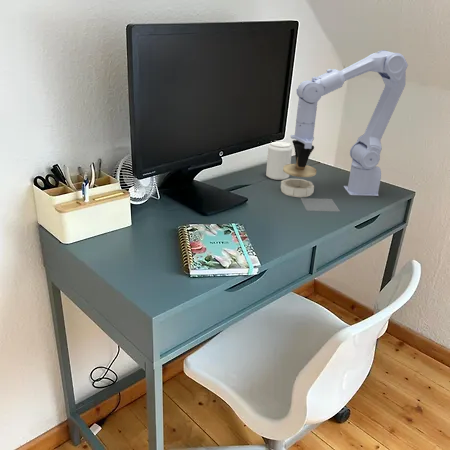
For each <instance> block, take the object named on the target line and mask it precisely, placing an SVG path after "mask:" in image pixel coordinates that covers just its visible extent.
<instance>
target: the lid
mask: <svg viewBox="0 0 450 450" xmlns="http://www.w3.org/2000/svg"><path fill="white" fill-rule="evenodd" d="M283 171H284V172H285V173H286V174H289V176H292V177H297V178H311V177H314V176H316V175H317V168H316V167H314V166H311V165H308V164H306V166H305V167H299V166H298V157H297V161H296V160H295V163H291V164H287V165H285V166H284V167H283Z"/></svg>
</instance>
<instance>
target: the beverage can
mask: <svg viewBox="0 0 450 450" xmlns="http://www.w3.org/2000/svg"><path fill="white" fill-rule="evenodd" d="M275 141H276V142H272V141H271V142H272V143H269V145H268V147H267V160H266V173H265V175H266V177H267V178H269V179H271V180H275V181H283V180H286V179H289V178H290V175H289V174H286V173H285V172H284V171H283V167H284V166H285V165H287V164H292V154H293V147H292V143H291V142H289V141H284V140H275Z"/></svg>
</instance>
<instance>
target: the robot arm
mask: <svg viewBox="0 0 450 450" xmlns="http://www.w3.org/2000/svg"><path fill="white" fill-rule="evenodd" d="M408 66H409V64H408V62H407V59H406V58H405V56H404V55H403V54H402V53H400V52H392V51H388V50H385V49H382V50H378V51H376V52H374V53H371V54H369V55H368V56H366V57H364V58H362V59H360V60H358V61H357V62H354V63H352V64H351V65H348V66H347V67H345V68H343V69H341V70H339V69H336V68H333V69H332V68H328V69H327V70H326V72H324V73H322V74H320V75H318V76H315V75H314V76H312V77H311V80H309V79H307V80H303V81H302V82H300V84H299V85H298V87H297V88H296V95H297V97H298V104H297V110H296V120H295V121H296V122H295V131H294V134H291V135H290V138H291V139H293V140H292V143H293V144H292V145H293V147H294V148H293V149H294V155H295V157H294V158H295V162H296V161H297V157H298V166H299V167H305V166H306V165H308V164H307V163H308V159H309V158H310V156H311V154H312V152H313V151H314V150H315V146H314V145H313V141H314V139H315V137H314V136H315V127H316V118H317V109H318V102H319V101H320V100H321V98H322V97H324V96H325V95H328V94H330V93H331V92H334V91H336V90H338V89H340V88H342V87H343V86H344V84H345V81H349V80H351V79H354V78H355V77H358V76H361V75H363V74H366V73H368V72H375V73H378V75H380V77H381V79H382V81H383V84H384V87H383V90H382V92H381V95H380V97H379V99H378V102H377V104H376V106H375V108H374V109H373V110H374V111H373V112H372V113H373V114H372V115H371V117H370V119H369V122H368V124H367V127H366V128H365V131H364V133H363V134H362V135H360V136H359V137H357V140H356V142H355V143H354V144H353V145H352V146H351V147H350V150H349V156H350V158H351V165H350V172H349V178H348V184H347V185H343V188H344V189H345V191H346V192H347V193H348V195H350V196H371V197H373V196H375V197H379V189H380V186H381V179H382V170H381V167H380V166H377V165H379V162H380V160H381V151H382V142H381V140H382V138H383V135H384V134H385V131H386V129H387V126H388V124H389V122H390V120H391V118H392V115H393V113H394V111H395V109H396V106H397V104H398V102H399V101H400V99H401V95H402V93H403V91H404V89H405V88H406V80H407V79H406V78H407V76H406V71H407V69H408Z"/></svg>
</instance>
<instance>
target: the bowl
mask: <svg viewBox="0 0 450 450" xmlns="http://www.w3.org/2000/svg"><path fill="white" fill-rule="evenodd" d="M314 189H315V185H314V183H313V182H312V181H310V180H306V179H303V178H290V177H288V178H287V179H284V180H280V190H281V193H282V194H283V195H286V196H289V197H293V198H294V197H296V198H307V197H308V198H309V197H310V196H312V195H313V194H314Z"/></svg>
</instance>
